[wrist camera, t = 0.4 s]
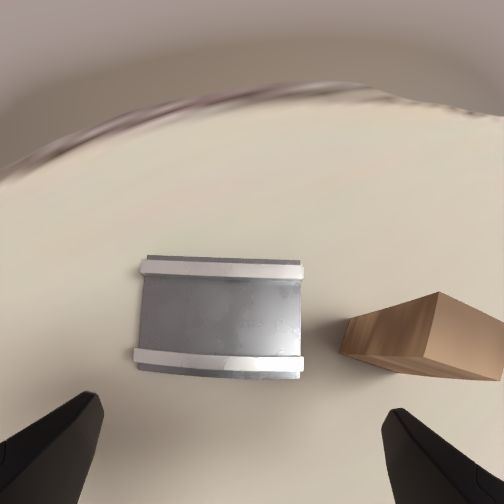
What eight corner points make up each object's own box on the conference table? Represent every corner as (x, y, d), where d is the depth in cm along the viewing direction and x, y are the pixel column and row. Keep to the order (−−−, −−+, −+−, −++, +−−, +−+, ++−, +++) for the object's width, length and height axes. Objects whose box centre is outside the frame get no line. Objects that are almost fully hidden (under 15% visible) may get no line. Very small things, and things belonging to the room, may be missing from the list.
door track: (297, 263, 24) (303, 256, 22) (297, 377, 21) (302, 380, 19) (150, 258, 24) (142, 250, 22) (142, 368, 21) (133, 370, 19)
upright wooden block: (398, 372, 21) (500, 381, 10) (338, 353, 22) (423, 356, 10) (410, 333, 22) (512, 315, 11) (353, 311, 23) (441, 279, 11)
